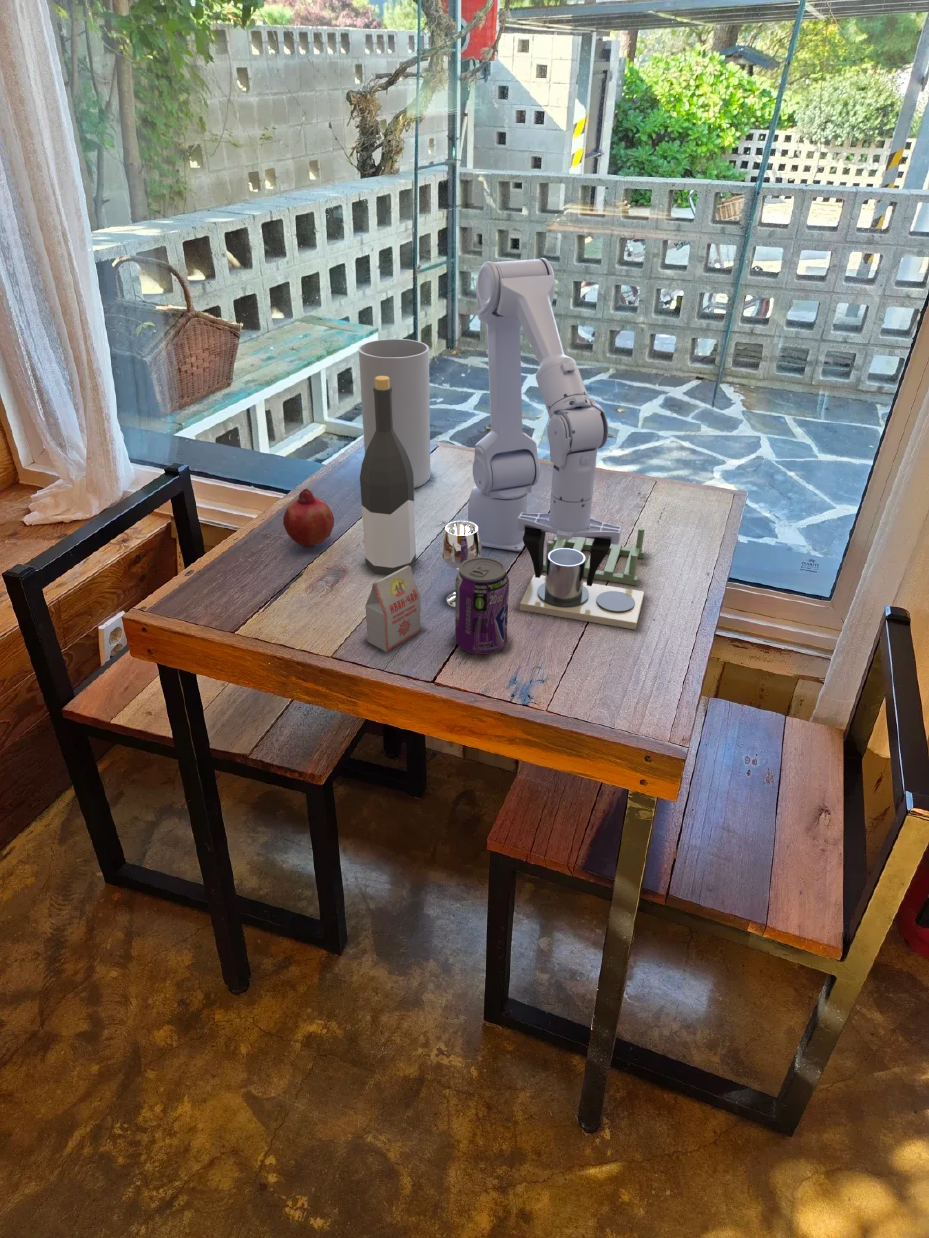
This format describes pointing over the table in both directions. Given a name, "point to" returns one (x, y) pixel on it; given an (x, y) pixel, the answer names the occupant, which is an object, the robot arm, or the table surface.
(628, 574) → the rack
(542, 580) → the hob
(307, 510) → the fruit
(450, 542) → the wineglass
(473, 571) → the beverage can
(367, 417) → the cylinder vase
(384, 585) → the tea bag
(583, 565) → the pot
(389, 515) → the wine bottle
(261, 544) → the table surface
